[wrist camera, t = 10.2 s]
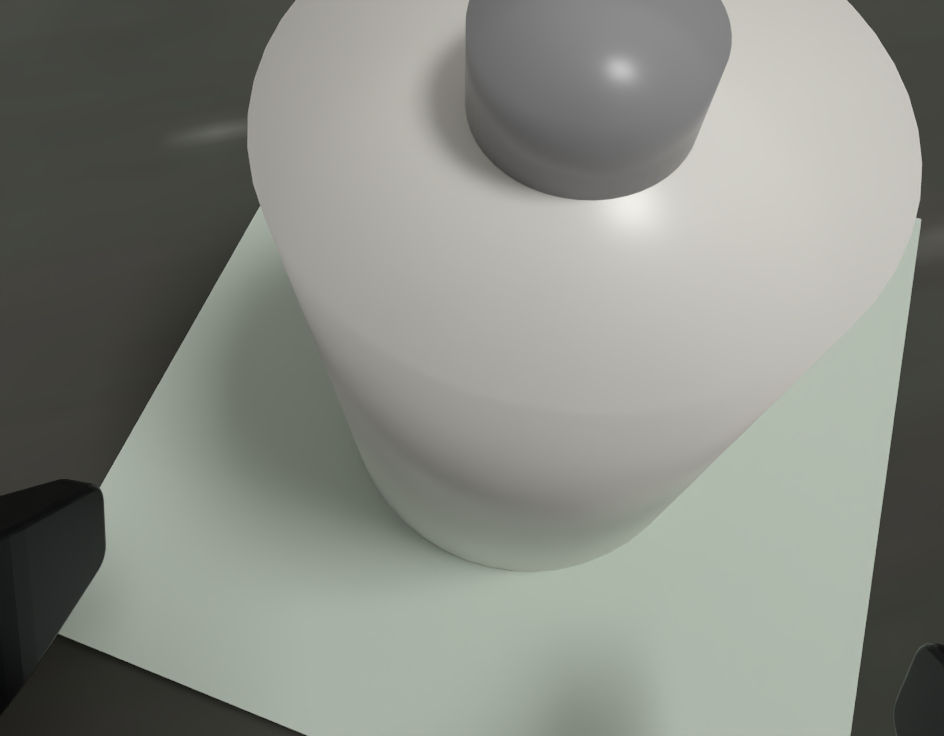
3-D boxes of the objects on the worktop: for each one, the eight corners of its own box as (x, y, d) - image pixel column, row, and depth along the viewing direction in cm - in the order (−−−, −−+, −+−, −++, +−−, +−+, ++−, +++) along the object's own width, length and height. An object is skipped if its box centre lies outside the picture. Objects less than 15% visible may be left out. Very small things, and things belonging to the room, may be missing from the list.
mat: (800, 931, 12) (821, 946, 11) (47, 624, 14) (24, 619, 13) (902, 239, 18) (921, 219, 17) (347, 84, 19) (342, 60, 19)
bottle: (742, 536, 14) (1141, 291, 6) (375, 602, 13) (235, 436, 5) (644, 231, 17) (818, -230, 8) (336, 276, 16) (204, -171, 8)
